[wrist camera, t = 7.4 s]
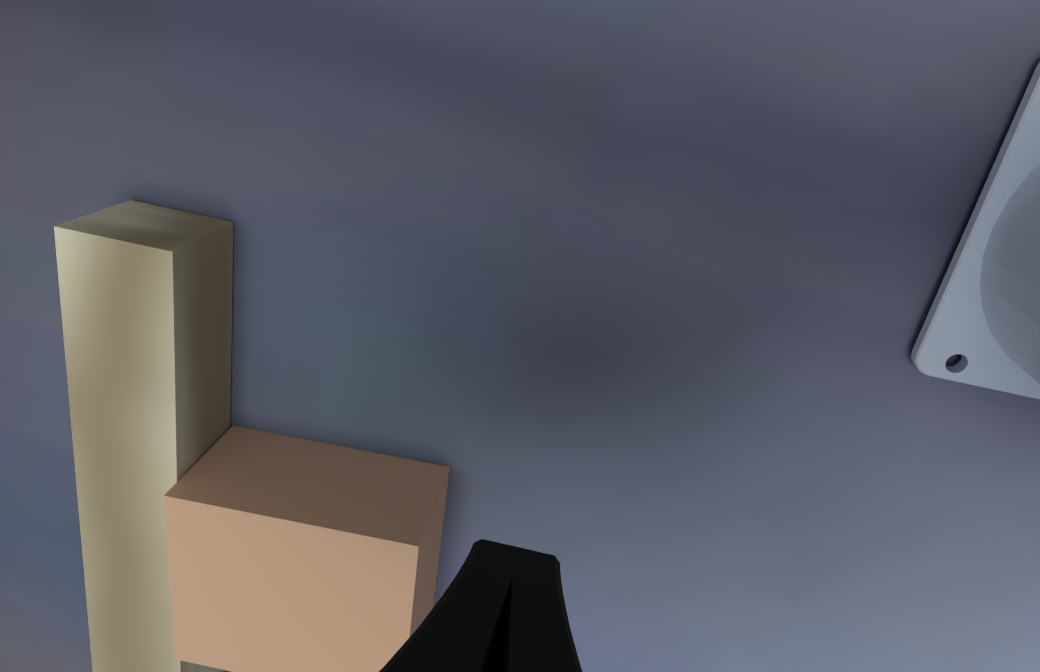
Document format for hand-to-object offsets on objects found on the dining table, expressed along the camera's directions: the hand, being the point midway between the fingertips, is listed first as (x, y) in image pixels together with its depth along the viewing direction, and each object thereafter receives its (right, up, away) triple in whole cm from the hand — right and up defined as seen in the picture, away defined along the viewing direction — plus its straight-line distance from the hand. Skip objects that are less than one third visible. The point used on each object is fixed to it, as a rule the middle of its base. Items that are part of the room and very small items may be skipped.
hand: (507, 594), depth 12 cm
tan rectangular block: (-6, -2, +12) cm, 14 cm away
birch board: (-11, -1, +12) cm, 17 cm away
